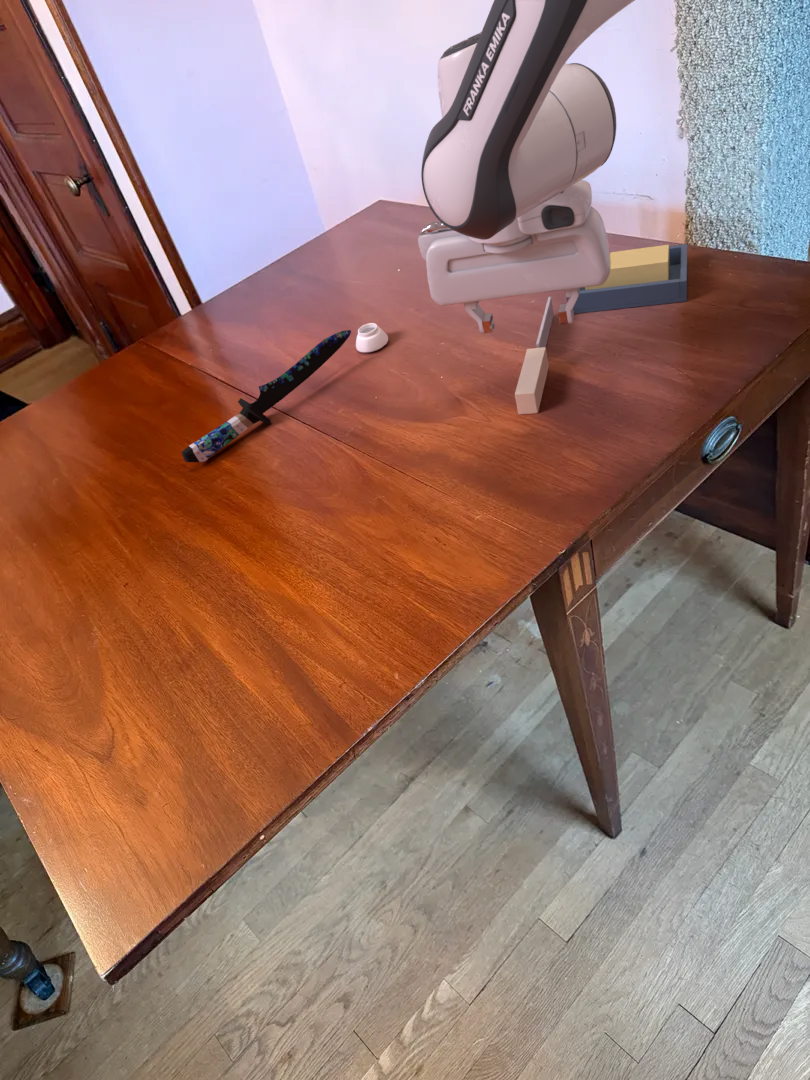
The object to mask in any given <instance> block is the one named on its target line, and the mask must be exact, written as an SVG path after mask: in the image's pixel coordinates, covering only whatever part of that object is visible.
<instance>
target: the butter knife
mask: <svg viewBox="0 0 810 1080" xmlns="http://www.w3.org/2000/svg"><path fill="white" fill-rule="evenodd" d="M552 300H553V299H552V296H548V297H547V301H546V305H545V309H544V312H543V316H542V319H541V324H540V327H539V331H538V335H537V340H536V343H535V346H536V347H533V348H526V352H525V355H524V360H523V363H522V367H521V370H520V374H519V377H518V381H517V385H516V388H515V392H514V399H515V402H516V403H515V405H516V408H517V413H518V415H531V414H532V415H533V414H539V410H540V405H541V401H542V397H543V394H544V389H545V384H546V380H547V376H548V372H549V368H550V366H549V359H548V352H547V343H548V339H549V335H550V331H551V327H552V323H553V319H554V315H555V314H554V308H553V307H554V306H553V301H552Z"/></svg>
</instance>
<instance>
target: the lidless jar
mask: <svg viewBox="0 0 810 1080" xmlns="http://www.w3.org/2000/svg"><path fill="white" fill-rule="evenodd" d="M388 341H389V336H388V334H387V333H386V332H385V331H384V330H383V329H382V328H381V327H380V326H378V324H377V323H375V322H369V323H368V322H367V323H365V324H363V325H361V326H360V327H358V329H357V335H356V340H355V348H356V350H357V351H358V352H360V353H372V352H375V351H378V350H380V349H382V348H383V347H385V345H387V344H388Z"/></svg>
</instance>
